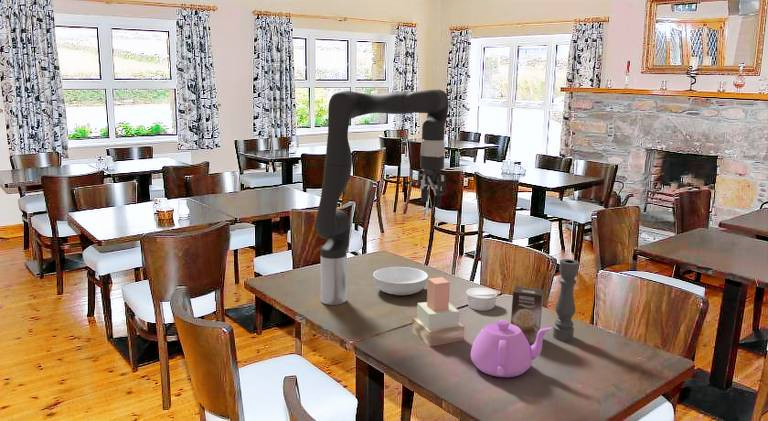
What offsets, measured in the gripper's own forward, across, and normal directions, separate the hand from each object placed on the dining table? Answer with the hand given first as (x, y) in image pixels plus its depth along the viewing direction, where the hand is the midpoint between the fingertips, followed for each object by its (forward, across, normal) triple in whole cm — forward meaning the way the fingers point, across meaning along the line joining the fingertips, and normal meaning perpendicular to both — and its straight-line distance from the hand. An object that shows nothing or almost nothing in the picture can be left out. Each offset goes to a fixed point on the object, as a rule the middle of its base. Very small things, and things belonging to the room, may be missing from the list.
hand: (430, 204), depth 200 cm
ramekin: (+40, -5, +25) cm, 48 cm away
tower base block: (+40, +12, -2) cm, 42 cm away
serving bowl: (+40, -30, +5) cm, 51 cm away
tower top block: (+36, +12, -3) cm, 37 cm away
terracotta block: (+30, +12, -3) cm, 33 cm away
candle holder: (+40, +28, +34) cm, 60 cm away
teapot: (+40, +39, +5) cm, 56 cm away
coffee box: (+40, +24, +22) cm, 52 cm away
